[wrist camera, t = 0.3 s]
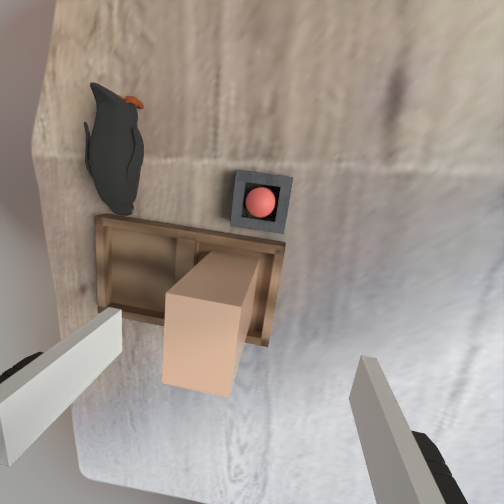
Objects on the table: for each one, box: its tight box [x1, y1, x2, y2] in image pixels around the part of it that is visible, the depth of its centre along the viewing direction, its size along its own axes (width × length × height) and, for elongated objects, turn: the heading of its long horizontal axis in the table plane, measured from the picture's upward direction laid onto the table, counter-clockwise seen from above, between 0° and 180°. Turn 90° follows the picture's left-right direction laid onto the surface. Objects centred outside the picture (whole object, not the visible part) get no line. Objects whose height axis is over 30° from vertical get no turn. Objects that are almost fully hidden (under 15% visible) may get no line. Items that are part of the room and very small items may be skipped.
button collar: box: [230, 170, 293, 234], centre depth 35 cm, size 7×7×3 cm
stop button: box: [246, 187, 276, 217], centre depth 35 cm, size 4×4×3 cm
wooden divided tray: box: [95, 214, 286, 347], centre depth 40 cm, size 15×27×3 cm, turn 82°
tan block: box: [162, 251, 260, 398], centre depth 33 cm, size 10×7×15 cm
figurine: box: [84, 83, 144, 216], centre depth 34 cm, size 7×10×15 cm
